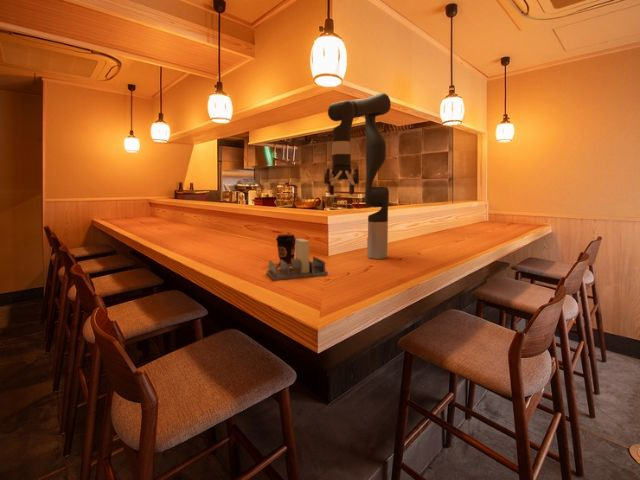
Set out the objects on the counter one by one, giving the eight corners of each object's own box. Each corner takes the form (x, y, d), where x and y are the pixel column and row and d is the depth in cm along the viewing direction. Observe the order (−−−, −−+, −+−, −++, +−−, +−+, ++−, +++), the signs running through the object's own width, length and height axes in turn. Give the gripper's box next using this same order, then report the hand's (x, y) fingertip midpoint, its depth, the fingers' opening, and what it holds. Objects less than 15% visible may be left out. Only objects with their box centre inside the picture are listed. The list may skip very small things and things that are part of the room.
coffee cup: (283, 267, 143) (282, 236, 141) (273, 264, 149) (272, 235, 147) (300, 264, 148) (299, 234, 146) (289, 261, 155) (288, 233, 153)
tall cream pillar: (295, 268, 135) (295, 238, 133) (303, 268, 136) (302, 238, 134) (301, 273, 127) (301, 241, 125) (309, 272, 128) (308, 241, 127)
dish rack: (266, 273, 133) (266, 260, 132) (316, 268, 140) (316, 256, 139) (273, 280, 122) (273, 266, 121) (327, 274, 129) (327, 261, 128)
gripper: (353, 155, 141) (353, 194, 143) (321, 154, 136) (322, 195, 138) (361, 153, 134) (361, 194, 136) (328, 152, 129) (328, 195, 132)
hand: (341, 194), depth 137 cm, fingers open, 8 cm apart
